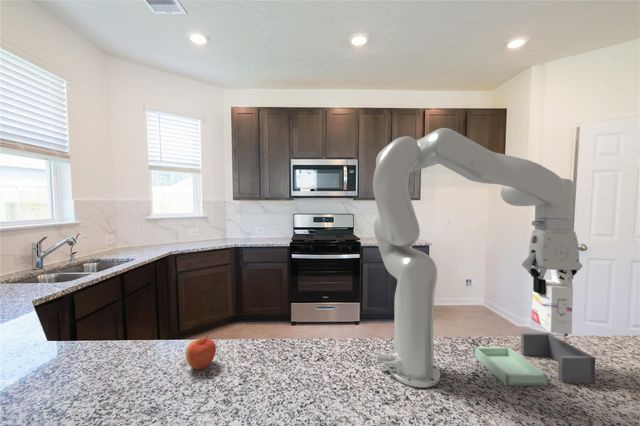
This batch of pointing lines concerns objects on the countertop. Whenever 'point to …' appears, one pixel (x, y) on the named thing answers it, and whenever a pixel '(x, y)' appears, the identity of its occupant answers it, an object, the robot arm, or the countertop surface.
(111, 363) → the countertop surface
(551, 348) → the bracket
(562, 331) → the ink cartridge box
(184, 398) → the countertop surface
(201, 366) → the apple
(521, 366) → the tray
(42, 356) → the countertop surface
